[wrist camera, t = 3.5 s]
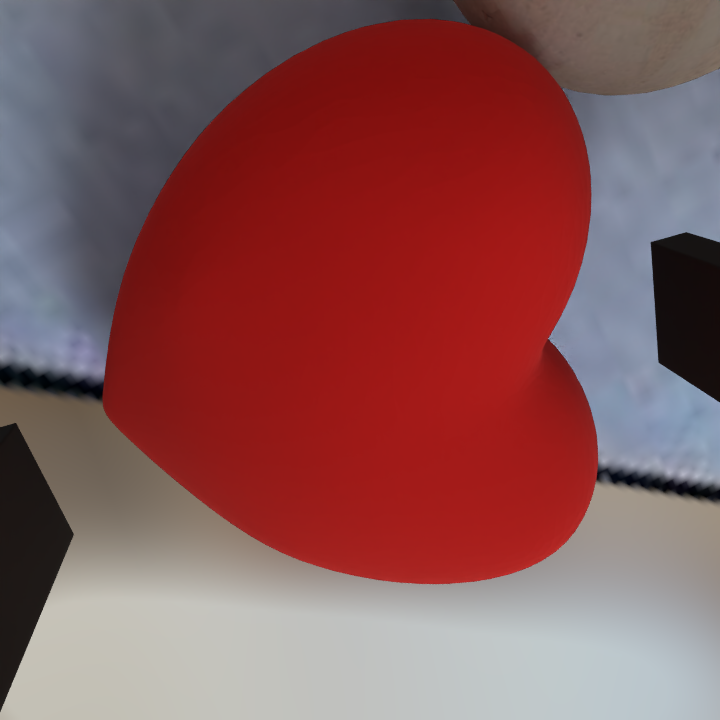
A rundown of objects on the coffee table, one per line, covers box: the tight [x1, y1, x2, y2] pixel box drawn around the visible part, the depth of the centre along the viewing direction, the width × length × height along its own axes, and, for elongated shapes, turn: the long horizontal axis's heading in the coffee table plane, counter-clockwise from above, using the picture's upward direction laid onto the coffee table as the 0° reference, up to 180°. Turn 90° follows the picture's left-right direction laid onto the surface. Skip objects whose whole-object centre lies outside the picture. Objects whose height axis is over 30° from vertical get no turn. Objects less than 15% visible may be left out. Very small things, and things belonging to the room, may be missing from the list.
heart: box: [103, 19, 598, 584], centre depth 13 cm, size 12×5×10 cm
